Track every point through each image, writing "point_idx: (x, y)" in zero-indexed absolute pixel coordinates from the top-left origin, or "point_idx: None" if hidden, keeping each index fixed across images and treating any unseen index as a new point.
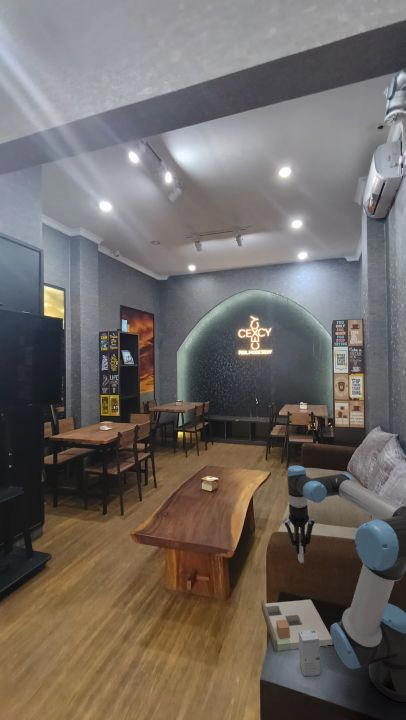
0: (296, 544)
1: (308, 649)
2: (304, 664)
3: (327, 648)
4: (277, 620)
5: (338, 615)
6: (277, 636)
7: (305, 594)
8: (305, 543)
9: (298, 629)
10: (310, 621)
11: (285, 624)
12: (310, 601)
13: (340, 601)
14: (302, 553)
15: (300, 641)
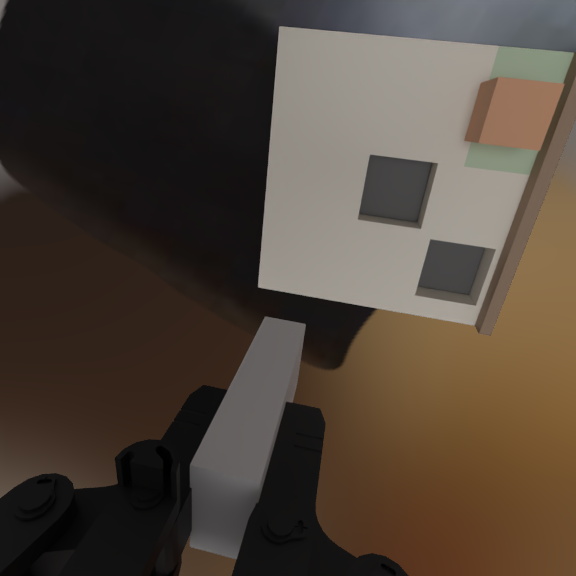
0: (310, 559)
1: None
2: None
3: (315, 23)
4: (532, 149)
5: (183, 197)
6: None
7: None
8: (102, 511)
9: (406, 129)
10: (323, 165)
11: (506, 106)
12: (264, 277)
13: (144, 263)
14: (245, 385)
15: None
